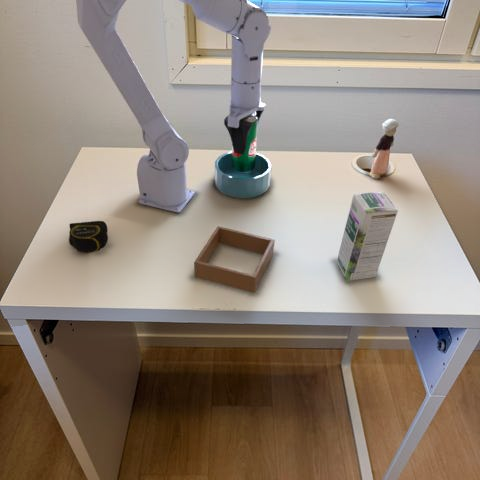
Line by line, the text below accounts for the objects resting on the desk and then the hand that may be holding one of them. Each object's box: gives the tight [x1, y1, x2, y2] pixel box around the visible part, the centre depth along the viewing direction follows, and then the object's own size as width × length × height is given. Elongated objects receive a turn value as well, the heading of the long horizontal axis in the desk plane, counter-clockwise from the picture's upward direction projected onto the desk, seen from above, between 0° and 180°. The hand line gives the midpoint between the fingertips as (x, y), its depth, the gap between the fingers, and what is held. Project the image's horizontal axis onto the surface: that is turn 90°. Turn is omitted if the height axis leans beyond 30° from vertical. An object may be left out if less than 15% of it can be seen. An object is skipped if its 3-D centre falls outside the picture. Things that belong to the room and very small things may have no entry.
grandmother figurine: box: [368, 118, 400, 180], centre depth 104 cm, size 8×4×13 cm, turn 148°
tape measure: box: [68, 220, 109, 254], centre depth 87 cm, size 7×7×4 cm
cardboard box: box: [193, 225, 276, 294], centre depth 84 cm, size 11×11×4 cm
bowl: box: [214, 151, 272, 199], centre depth 103 cm, size 12×12×4 cm
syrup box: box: [336, 191, 399, 282], centre depth 80 cm, size 6×6×14 cm
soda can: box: [231, 112, 259, 173], centre depth 97 cm, size 5×5×12 cm
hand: (243, 146), depth 98 cm, fingers closed on soda can, 5 cm apart
